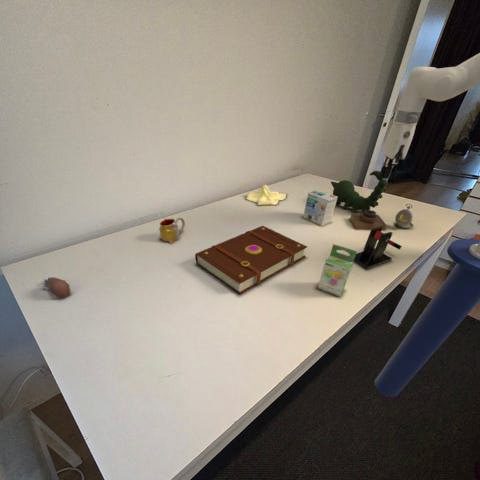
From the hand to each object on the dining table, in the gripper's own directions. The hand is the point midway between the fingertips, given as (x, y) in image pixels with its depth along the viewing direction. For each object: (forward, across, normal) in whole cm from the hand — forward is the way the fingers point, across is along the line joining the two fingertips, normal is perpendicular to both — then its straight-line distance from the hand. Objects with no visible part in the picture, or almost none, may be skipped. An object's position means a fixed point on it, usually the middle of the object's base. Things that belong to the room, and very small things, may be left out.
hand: (383, 177), depth 100 cm
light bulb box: (+19, +3, +20) cm, 28 cm away
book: (+19, -32, +50) cm, 62 cm away
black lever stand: (+18, -29, +8) cm, 35 cm away
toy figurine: (+19, +17, +2) cm, 25 cm away
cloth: (+20, +28, +41) cm, 54 cm away
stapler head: (+13, -27, +4) cm, 30 cm away
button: (+15, 0, 0) cm, 15 cm away
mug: (+20, -16, +80) cm, 83 cm away
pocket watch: (+18, -1, -16) cm, 24 cm away
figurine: (+20, -51, +107) cm, 120 cm away
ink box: (+19, -47, +26) cm, 57 cm away
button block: (+18, 0, 0) cm, 19 cm away
